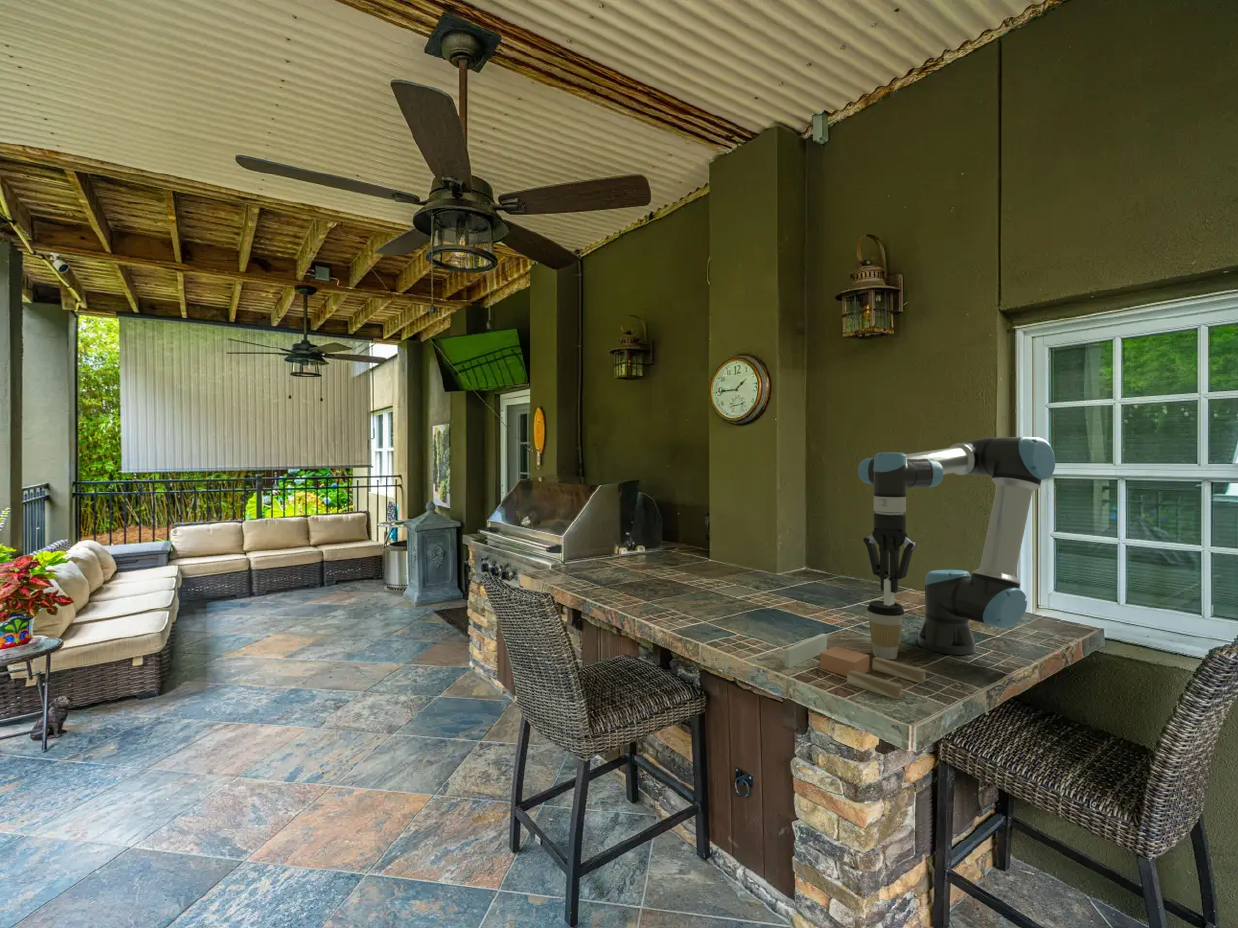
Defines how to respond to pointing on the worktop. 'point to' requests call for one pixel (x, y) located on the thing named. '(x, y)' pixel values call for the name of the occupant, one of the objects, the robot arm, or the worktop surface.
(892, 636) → the coffee cup
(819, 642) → the board
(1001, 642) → the worktop surface
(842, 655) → the block
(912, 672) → the chute
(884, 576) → the robot arm
